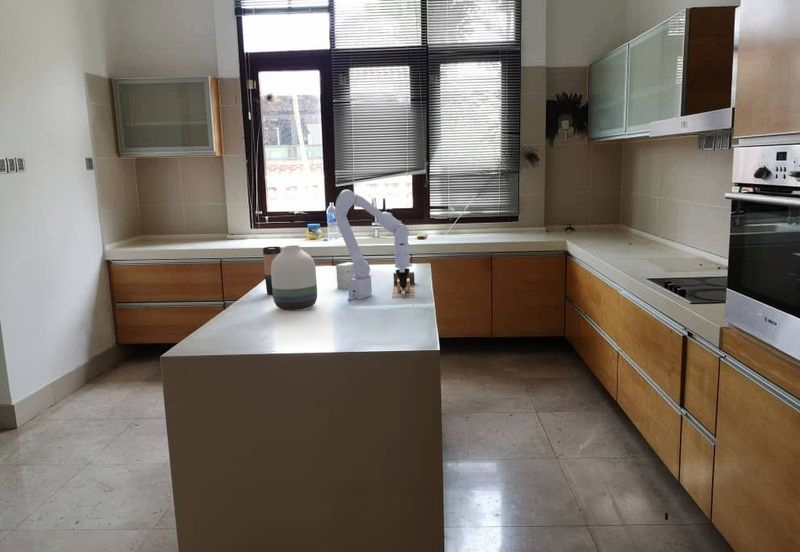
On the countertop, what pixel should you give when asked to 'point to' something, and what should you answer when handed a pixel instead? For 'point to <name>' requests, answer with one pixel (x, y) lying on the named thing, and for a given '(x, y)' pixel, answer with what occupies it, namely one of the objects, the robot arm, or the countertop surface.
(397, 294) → the rail board
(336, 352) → the countertop surface
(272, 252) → the travel mug
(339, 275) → the small box
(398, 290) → the slider block
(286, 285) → the vase
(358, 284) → the robot arm
